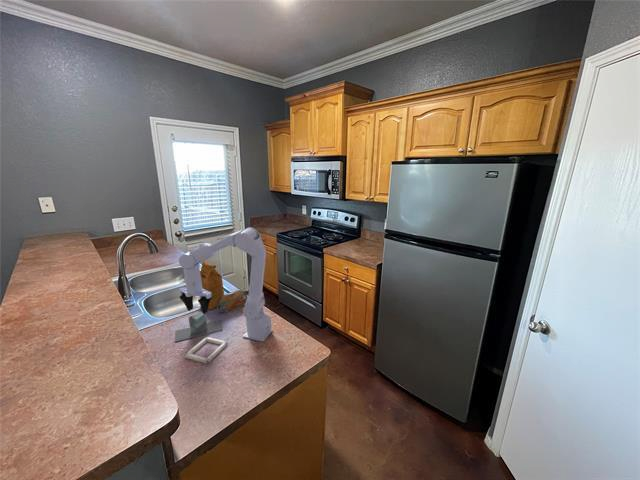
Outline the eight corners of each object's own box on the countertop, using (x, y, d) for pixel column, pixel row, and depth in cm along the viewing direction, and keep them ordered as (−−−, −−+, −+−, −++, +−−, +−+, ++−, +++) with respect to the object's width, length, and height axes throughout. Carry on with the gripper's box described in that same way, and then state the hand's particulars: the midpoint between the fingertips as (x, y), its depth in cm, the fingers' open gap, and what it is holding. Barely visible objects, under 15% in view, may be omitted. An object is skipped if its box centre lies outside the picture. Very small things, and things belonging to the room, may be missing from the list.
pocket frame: (227, 344, 101) (227, 341, 101) (207, 363, 91) (207, 360, 91) (206, 339, 105) (206, 336, 104) (185, 357, 95) (184, 354, 94)
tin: (219, 315, 121) (217, 299, 119) (216, 313, 124) (214, 297, 121) (248, 304, 132) (247, 289, 129) (245, 302, 134) (244, 287, 132)
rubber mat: (220, 320, 117) (220, 319, 117) (222, 330, 110) (222, 329, 110) (175, 331, 110) (175, 330, 109) (174, 342, 103) (174, 341, 103)
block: (207, 327, 111) (205, 313, 110) (198, 334, 107) (196, 319, 105) (199, 326, 113) (197, 311, 111) (190, 332, 108) (188, 317, 106)
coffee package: (217, 296, 140) (212, 257, 134) (227, 304, 132) (223, 263, 126) (198, 302, 133) (192, 262, 128) (207, 311, 125) (202, 268, 119)
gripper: (171, 282, 103) (176, 313, 106) (200, 287, 98) (205, 319, 102) (185, 275, 109) (189, 304, 113) (213, 280, 104) (217, 310, 108)
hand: (197, 311), depth 108 cm, fingers open, 7 cm apart
